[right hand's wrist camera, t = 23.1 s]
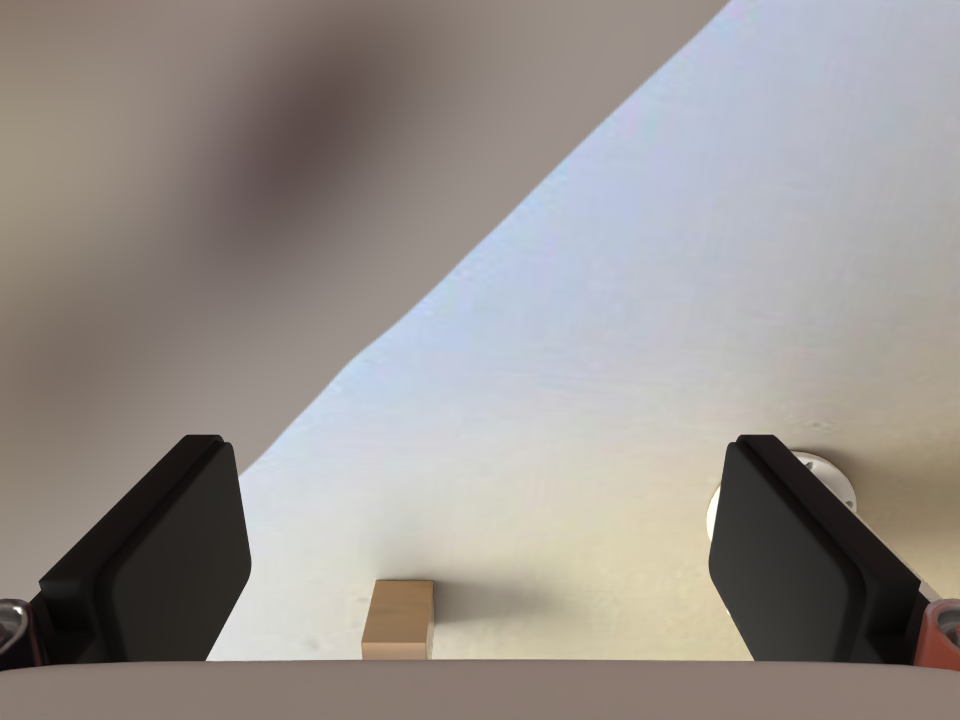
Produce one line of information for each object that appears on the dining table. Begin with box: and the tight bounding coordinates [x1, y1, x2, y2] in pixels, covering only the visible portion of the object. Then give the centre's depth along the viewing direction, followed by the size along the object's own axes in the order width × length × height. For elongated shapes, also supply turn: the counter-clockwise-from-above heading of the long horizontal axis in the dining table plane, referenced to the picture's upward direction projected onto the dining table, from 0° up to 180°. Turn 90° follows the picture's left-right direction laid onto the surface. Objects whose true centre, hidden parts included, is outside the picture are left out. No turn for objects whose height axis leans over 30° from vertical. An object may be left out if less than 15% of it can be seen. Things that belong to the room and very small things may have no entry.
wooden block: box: [361, 580, 434, 660], centre depth 53 cm, size 5×5×7 cm
